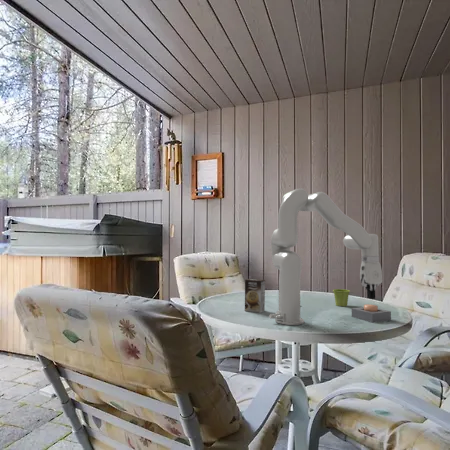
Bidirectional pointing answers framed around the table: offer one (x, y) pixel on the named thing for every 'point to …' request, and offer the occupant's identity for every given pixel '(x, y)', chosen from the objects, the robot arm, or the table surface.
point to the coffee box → (255, 295)
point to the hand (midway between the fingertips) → (371, 298)
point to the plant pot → (341, 297)
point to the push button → (370, 307)
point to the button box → (371, 315)
